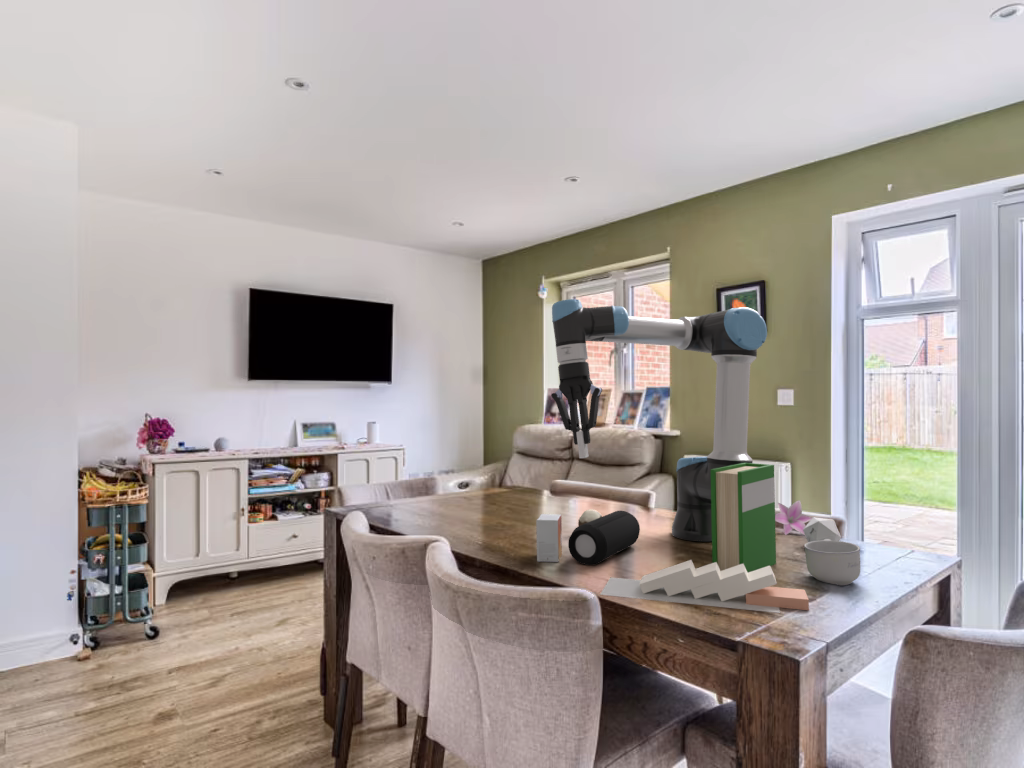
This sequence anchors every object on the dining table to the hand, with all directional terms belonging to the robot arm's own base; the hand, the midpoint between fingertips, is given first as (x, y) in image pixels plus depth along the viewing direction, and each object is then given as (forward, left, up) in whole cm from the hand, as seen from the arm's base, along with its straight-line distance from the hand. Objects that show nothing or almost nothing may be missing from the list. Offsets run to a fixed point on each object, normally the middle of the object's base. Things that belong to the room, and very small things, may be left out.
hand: (584, 457), depth 146 cm
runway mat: (-13, +26, -26) cm, 40 cm away
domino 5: (-23, +32, -25) cm, 47 cm away
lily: (-69, -18, -27) cm, 76 cm away
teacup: (-50, +23, -26) cm, 61 cm away
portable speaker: (-8, -7, -27) cm, 28 cm away
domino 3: (-15, +27, -25) cm, 40 cm away
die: (-66, -1, -26) cm, 71 cm away
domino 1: (-6, +22, -25) cm, 34 cm away
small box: (+7, -8, -26) cm, 28 cm away
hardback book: (-36, +11, -26) cm, 46 cm away
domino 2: (-10, +24, -25) cm, 36 cm away
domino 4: (-19, +30, -25) cm, 43 cm away
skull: (-11, -29, -27) cm, 41 cm away
